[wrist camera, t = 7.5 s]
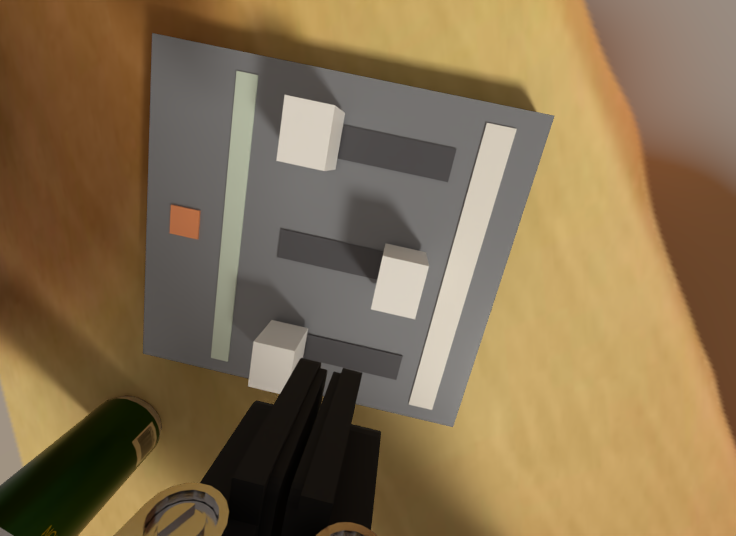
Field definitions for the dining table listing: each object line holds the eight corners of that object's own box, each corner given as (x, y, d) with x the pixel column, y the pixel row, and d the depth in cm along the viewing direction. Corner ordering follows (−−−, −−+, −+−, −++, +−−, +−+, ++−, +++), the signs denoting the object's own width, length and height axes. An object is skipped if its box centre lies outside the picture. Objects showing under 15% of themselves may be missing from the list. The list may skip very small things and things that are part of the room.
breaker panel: (541, 119, 21) (584, 106, 16) (449, 408, 27) (459, 466, 22) (173, 44, 22) (103, 8, 17) (160, 340, 28) (105, 381, 23)
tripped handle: (425, 252, 22) (429, 266, 19) (413, 299, 23) (414, 319, 20) (385, 243, 22) (382, 255, 19) (375, 290, 23) (370, 309, 20)
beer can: (154, 390, 29) (-7, 538, 18) (173, 447, 31) (34, 618, 19) (93, 394, 30) (-100, 539, 19) (114, 449, 31) (-54, 616, 20)
